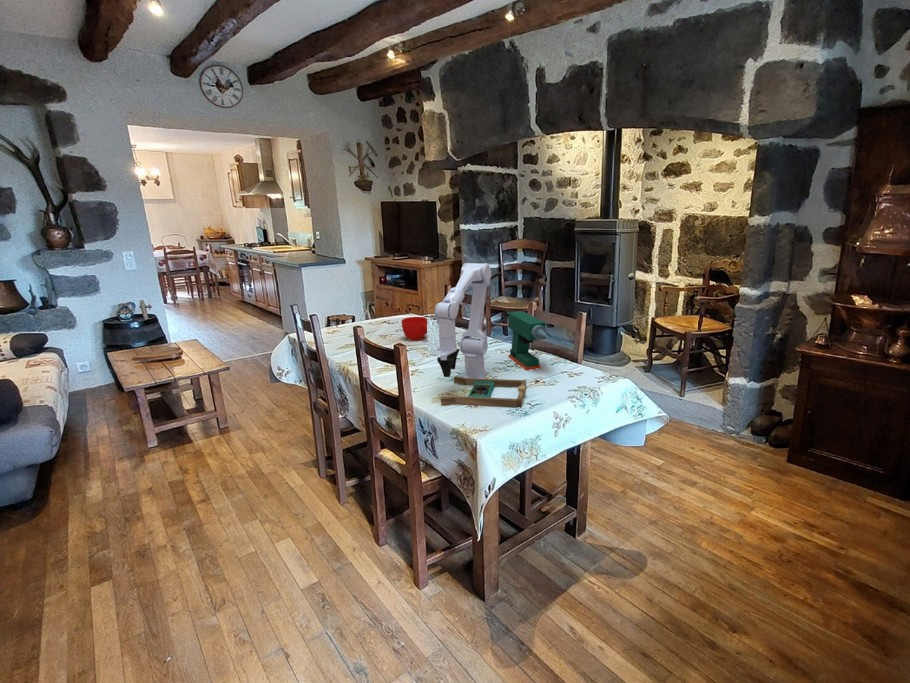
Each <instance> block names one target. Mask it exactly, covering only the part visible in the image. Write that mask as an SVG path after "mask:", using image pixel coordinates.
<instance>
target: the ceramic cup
mask: <svg viewBox="0 0 910 683" xmlns="http://www.w3.org/2000/svg"><path fill="white" fill-rule="evenodd" d="M400 323H401V328H402V332H403V334H404V335H405V337H406V338H407V339H408V340H409V339H410V340H409V341H411V340H418V341H421V340H423V338H424V337H425V335H427V334H428V333H427V325H428V318H427V317H423V316H410V317H406V318H405V317H404V318H403V319H402V320H401V322H400ZM420 339H421V340H420Z"/></svg>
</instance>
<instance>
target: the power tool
mask: <svg viewBox="0 0 910 683" xmlns="http://www.w3.org/2000/svg"><path fill="white" fill-rule="evenodd" d="M507 314H508V329H509V330H511V331H512V340H511V348H510V349H509V354H508V358H509V359H510V358H511V359H510V360H511V361H513V362H514V363H515V362H516V364H517V365H518V364H519V365H520V367H521V368H522V367H523V368H524V369H523V368H522V369H523V370H525V371H531V370H530V369H533V370H537V369H536V368H540V369H541V368H542V366H541V364H540V359H539V358H538V357H536V356H535V355H534V354H532V353H531V352H529V350H530V344H533V343H534V341H538V340H539V341H541V340H545V339H546V338H547V339H549V338H550V337H549V336H548V335H547V329H546V322H545V321H543V320H541V319H539V318H538V317H535V316H533V315H531V314H529V313H527V312H525V311H523V310H522V311H512V312H511V311H510V312H508V313H507ZM519 365H518V366H519Z"/></svg>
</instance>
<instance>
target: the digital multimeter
mask: <svg viewBox="0 0 910 683" xmlns="http://www.w3.org/2000/svg"><path fill="white" fill-rule="evenodd" d="M494 389H495V387H494V382H491V381H476V382H475V383H474V386H472V388H471V390H470V392H469V394H468V396H467V397H487V398H491V396H492V393H493V391H494Z"/></svg>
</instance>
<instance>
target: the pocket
mask: <svg viewBox="0 0 910 683" xmlns="http://www.w3.org/2000/svg"><path fill="white" fill-rule="evenodd" d="M476 381H491V382H494V388H512V387H518V388H517V392H518V394H517V398H507V397H506V398H505V397H490V398H487V397H468V396H465V395H464V396H463V395H453V396H452V395H451V396H442V397H440V405H441V406H442V405H444V406H451V404H454V405H458V404H460V405H461V406H462V405H463V406H478V405H480V407H497V406H498V407H500V408H501V407H502V408H516V407H520V408H522V405H523V402H524V398H525V393H526V389H527V380H526V379H503V378H502V379H500V378H499V379H497V378H484V379H480V378H464V376H458V375H454V376H453V384H455V383H458V384H457V385H460V384H462V385H461V386H466V385H473V386H474V383H475V382H476ZM473 386H472V387H473ZM523 397H524V398H523ZM460 405H459V406H460ZM520 408H519V409H520Z"/></svg>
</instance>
